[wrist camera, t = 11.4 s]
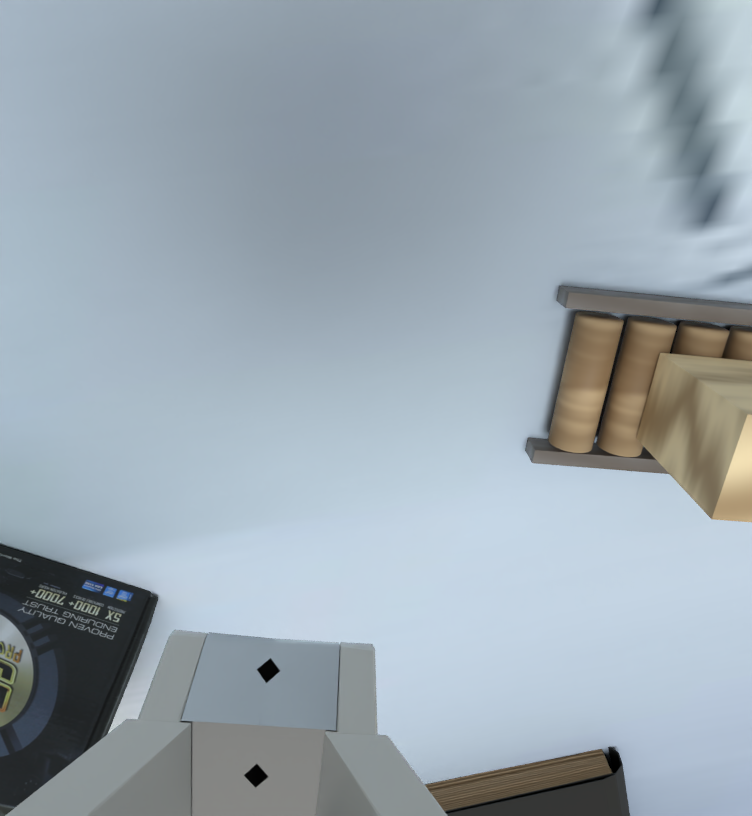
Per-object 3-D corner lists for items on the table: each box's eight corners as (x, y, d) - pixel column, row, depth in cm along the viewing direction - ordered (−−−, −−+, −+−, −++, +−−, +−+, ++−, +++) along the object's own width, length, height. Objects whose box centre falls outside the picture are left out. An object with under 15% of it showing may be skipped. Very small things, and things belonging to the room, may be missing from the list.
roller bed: (559, 285, 43) (573, 295, 40) (835, 312, 44) (867, 324, 41) (525, 450, 47) (536, 469, 45) (776, 470, 49) (801, 490, 46)
